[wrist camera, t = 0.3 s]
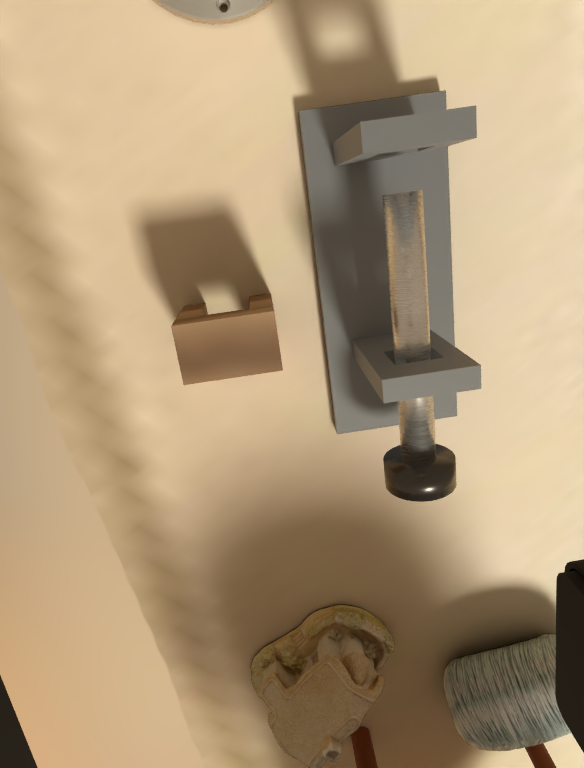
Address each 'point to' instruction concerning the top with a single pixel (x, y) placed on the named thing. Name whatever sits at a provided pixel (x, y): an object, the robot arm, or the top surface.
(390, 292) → the shaft
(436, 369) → the grey bearing stand
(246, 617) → the top surface
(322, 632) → the ceramic model
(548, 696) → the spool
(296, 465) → the top surface
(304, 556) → the top surface
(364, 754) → the plant pot with stand
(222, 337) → the block
